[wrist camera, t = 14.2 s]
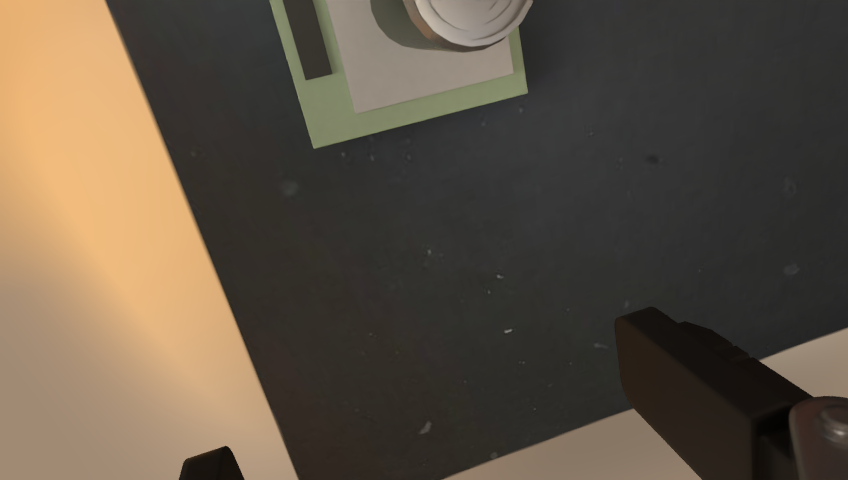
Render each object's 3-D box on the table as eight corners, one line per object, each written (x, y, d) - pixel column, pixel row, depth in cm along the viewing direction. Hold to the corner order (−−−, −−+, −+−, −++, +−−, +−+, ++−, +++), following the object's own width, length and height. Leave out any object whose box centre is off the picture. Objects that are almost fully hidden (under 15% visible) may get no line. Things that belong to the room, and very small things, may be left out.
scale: (312, 141, 37) (313, 151, 34) (241, -99, 32) (234, -116, 28) (512, 89, 39) (533, 94, 35) (475, -147, 33) (495, -169, 30)
